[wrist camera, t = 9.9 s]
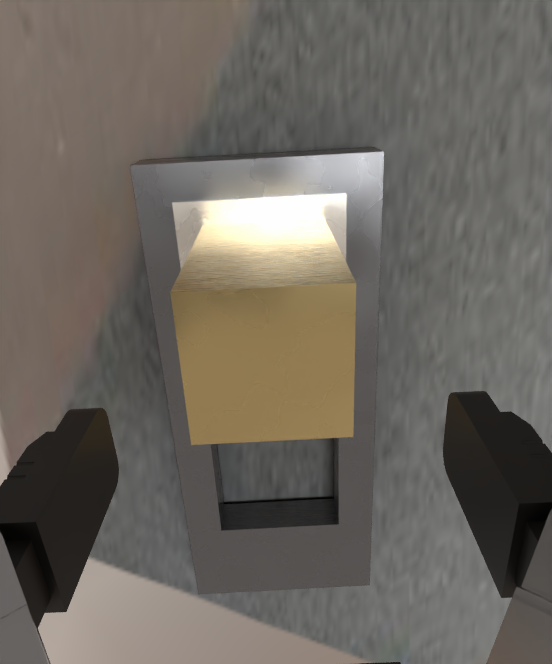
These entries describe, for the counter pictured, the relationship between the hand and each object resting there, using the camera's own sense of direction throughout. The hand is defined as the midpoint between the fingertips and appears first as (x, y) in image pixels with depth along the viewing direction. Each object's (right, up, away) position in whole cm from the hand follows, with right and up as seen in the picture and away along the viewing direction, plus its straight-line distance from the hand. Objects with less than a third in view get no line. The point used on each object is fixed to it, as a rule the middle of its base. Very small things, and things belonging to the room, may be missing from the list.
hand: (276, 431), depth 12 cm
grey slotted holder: (0, -1, +15) cm, 15 cm away
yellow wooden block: (0, +5, +10) cm, 11 cm away
